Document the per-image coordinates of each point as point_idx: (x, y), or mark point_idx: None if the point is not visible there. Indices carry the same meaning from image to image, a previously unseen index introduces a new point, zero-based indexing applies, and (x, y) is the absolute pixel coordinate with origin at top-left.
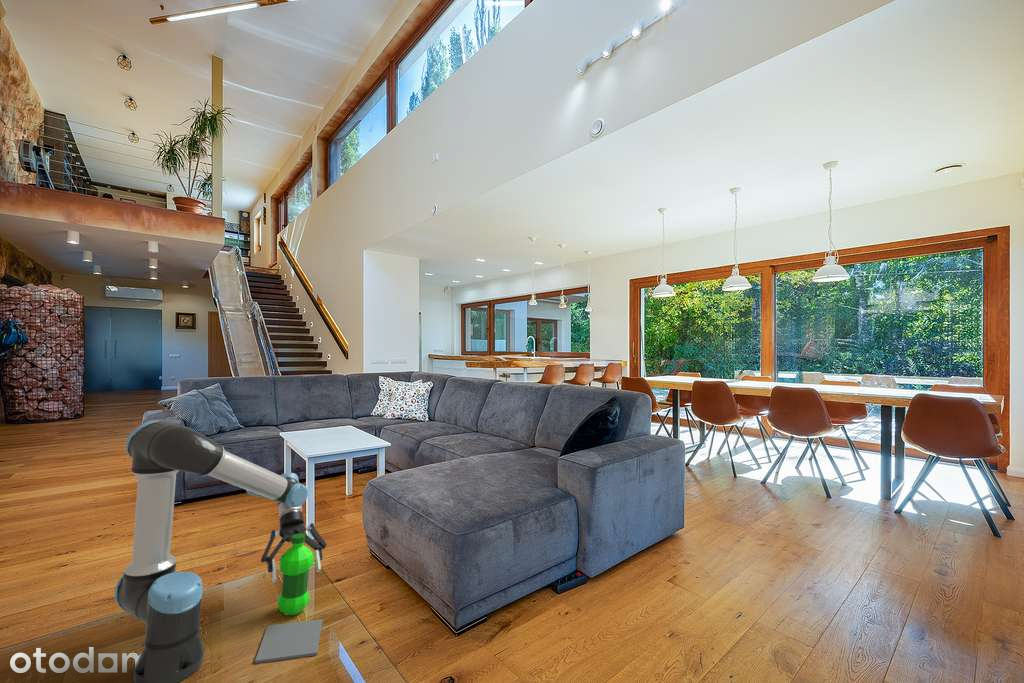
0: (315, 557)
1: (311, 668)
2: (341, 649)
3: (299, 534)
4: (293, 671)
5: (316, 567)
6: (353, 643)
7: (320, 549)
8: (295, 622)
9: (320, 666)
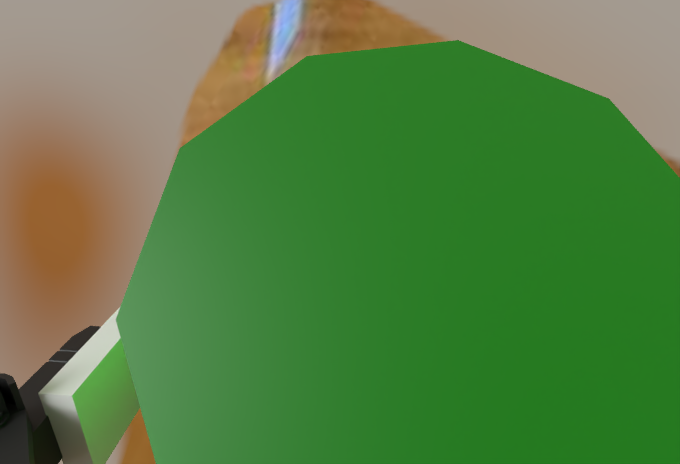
0: (129, 401)
1: (382, 26)
2: (280, 48)
3: (358, 434)
4: (428, 40)
5: None
6: (238, 52)
7: (6, 413)
8: None
9: (358, 21)
